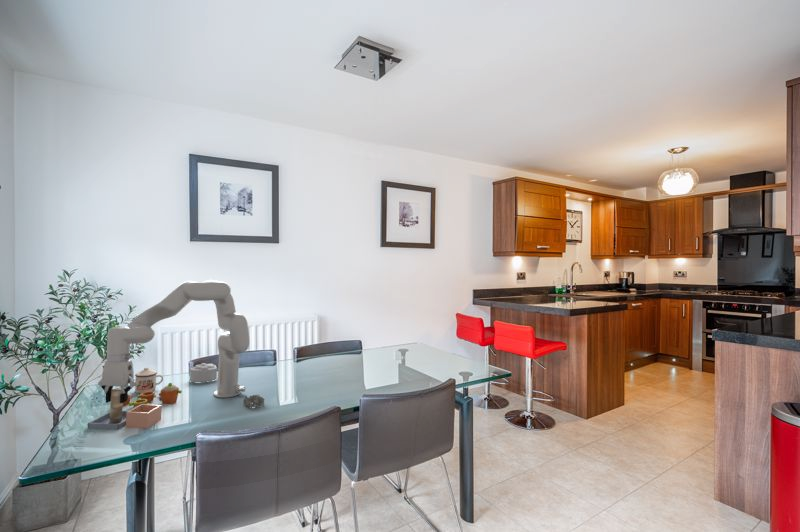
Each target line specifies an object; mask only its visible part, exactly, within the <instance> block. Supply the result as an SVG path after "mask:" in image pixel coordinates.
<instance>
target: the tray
mask: <svg viewBox="0 0 800 532" xmlns="http://www.w3.org/2000/svg"><path fill="white" fill-rule="evenodd" d="M128 411H129V410H124V409H122V421H121V422H119V423H114V424H111V423H109V421H110V411H109V412H107V413H105V414H103V415H101V416H99V417H97V418H95V419H93V420H91V421H90V422H89V421H88V423H87V429H88V428H90V429H92V430H110V429H111V430H112V431H113V430H114V431H115V430H117V431H118V430H121V429H122V428H124V427H126V412H128Z"/></svg>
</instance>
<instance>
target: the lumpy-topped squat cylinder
mask: <svg viewBox="0 0 800 532" xmlns="http://www.w3.org/2000/svg"><path fill="white" fill-rule="evenodd" d="M189 371H190V372H189V382H190V381H191V382H207V381H212V380H215V379H217V380H218V366H217V365H216V364H213V363H206V362H205V363H204V362H202V363H201V364H195V366H192V367H191V368H190V370H189ZM191 382H190V383H191Z"/></svg>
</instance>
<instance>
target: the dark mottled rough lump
mask: <svg viewBox="0 0 800 532" xmlns="http://www.w3.org/2000/svg"><path fill="white" fill-rule="evenodd" d="M242 397H244V399H243V401H242V404H243V405H245V406H246V405H247V406H246V407H249V408H250V407H251V408H250V409H253V408H252V407H256V406H262V407H263V406H265V400H266V398H263V396H261V395H260V394H258V393H257V394H253V395H250V396H249V397H248V396H247V395H242ZM252 403H253V404H252ZM256 408H257V407H256Z"/></svg>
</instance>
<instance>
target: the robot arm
mask: <svg viewBox="0 0 800 532" xmlns="http://www.w3.org/2000/svg"><path fill="white" fill-rule="evenodd" d="M231 289H232V288H231V286H230V285H229V283H227V282H224V281H218V280H213V279H209V280H205V281H203V282H199V281H193V280H187V281H184V282H182V283H181V284H179V285H178V286H177V287H176V288H175V289H174V290H172V291H171V292H170V293H169V294H168V295H167V296H166V297H165V298H163V299H162V300H161V301H160V302H158V303H156V304H154V305H153V306H151V307H150V308H147V309H145V310H144V311H142V312H141V313H139V314H138V315H137V316H136V317H135V318H134V319H133V320H131V321H130V323H129V324H127V326H125V325H122V326H112V327H110V328H109V329H107V330H108V331H107V341H106V342H107V343H106V360H104V365H103V368H102V374H101V379H100V380H99V382H97V385H99V386H100V387H101V389H102V390H103V392H104V393H105V403H106V404H108V403H111V390H112V389H114V387H119V388H121V391H122V393H121V394H120V403H124V402H126V401H127V398H128V395H129V391H130V390H131V389H132V388H135V385H136V383H135V381H136V380H135V379H134V378H135V375H134V364H133V360H132V358H133V355H132V354H131V344H136V345H137V344H147V343H149V342H151V341H152V340H153V339H154V338H155V330H154V328H152V326H153V325H155V324H157V323H158V322H160V321H163V320H165V319H169V318H172V317H174V316H176V315H179V314H178V313H180V312H181V311H182V310H183V309H184V308H185V307H186V306H187V305H188V304H189V303H191V302H192V301H195V302H206V301H207V302H209V301H213V302H214V305H215V308H216V316H217V324H218V328H219V329H221V330H223V331H226V332H223V333H221V334H220V336H218V339H217V350H218V366H217V389H216V390H214V392H213V396H214V397H216V398H221V399H224V398H226V399H227V398H232V397H233V398H234V397H236V396H238V395H240V394H241V393H242V392H243V393H244V392H246V390H247V389H246V386H241V384H240V383H239V370H240V369H239V368H240V366H239V365H240V355H242V354H244V353H246V352H247V351H248V349H249V346H250V334H249V325H248V321H247V318H246V317H245V316H244V315H243V314H241V313H238V312H236V306H235V300H234V298H233V295H232V294H231Z"/></svg>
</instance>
